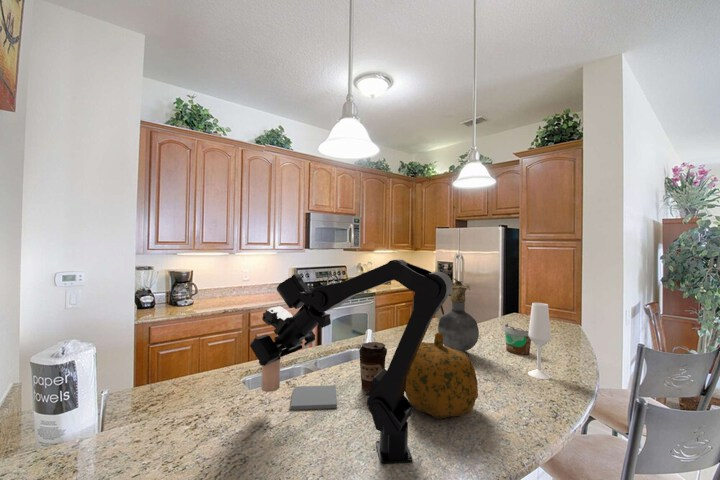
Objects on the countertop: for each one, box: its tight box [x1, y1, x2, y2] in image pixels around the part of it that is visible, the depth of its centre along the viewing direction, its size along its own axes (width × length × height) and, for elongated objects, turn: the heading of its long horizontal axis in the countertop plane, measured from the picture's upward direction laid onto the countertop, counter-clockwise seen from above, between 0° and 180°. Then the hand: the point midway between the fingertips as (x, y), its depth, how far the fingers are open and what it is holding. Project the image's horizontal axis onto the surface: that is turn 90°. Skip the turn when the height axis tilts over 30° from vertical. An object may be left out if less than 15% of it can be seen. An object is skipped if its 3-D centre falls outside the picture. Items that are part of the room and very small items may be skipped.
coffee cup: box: [358, 341, 388, 392], centre depth 94 cm, size 9×8×13 cm
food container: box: [503, 323, 532, 356], centre depth 129 cm, size 12×6×10 cm, turn 25°
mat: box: [289, 384, 338, 411], centre depth 87 cm, size 11×12×1 cm
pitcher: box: [437, 277, 480, 356], centre depth 127 cm, size 11×19×30 cm, turn 26°
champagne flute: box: [527, 302, 552, 380], centre depth 107 cm, size 7×7×24 cm
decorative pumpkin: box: [404, 332, 479, 420], centre depth 84 cm, size 20×21×20 cm
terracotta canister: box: [260, 354, 281, 393], centre depth 80 cm, size 5×5×10 cm
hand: (267, 360), depth 81 cm, fingers closed on terracotta canister, 4 cm apart
